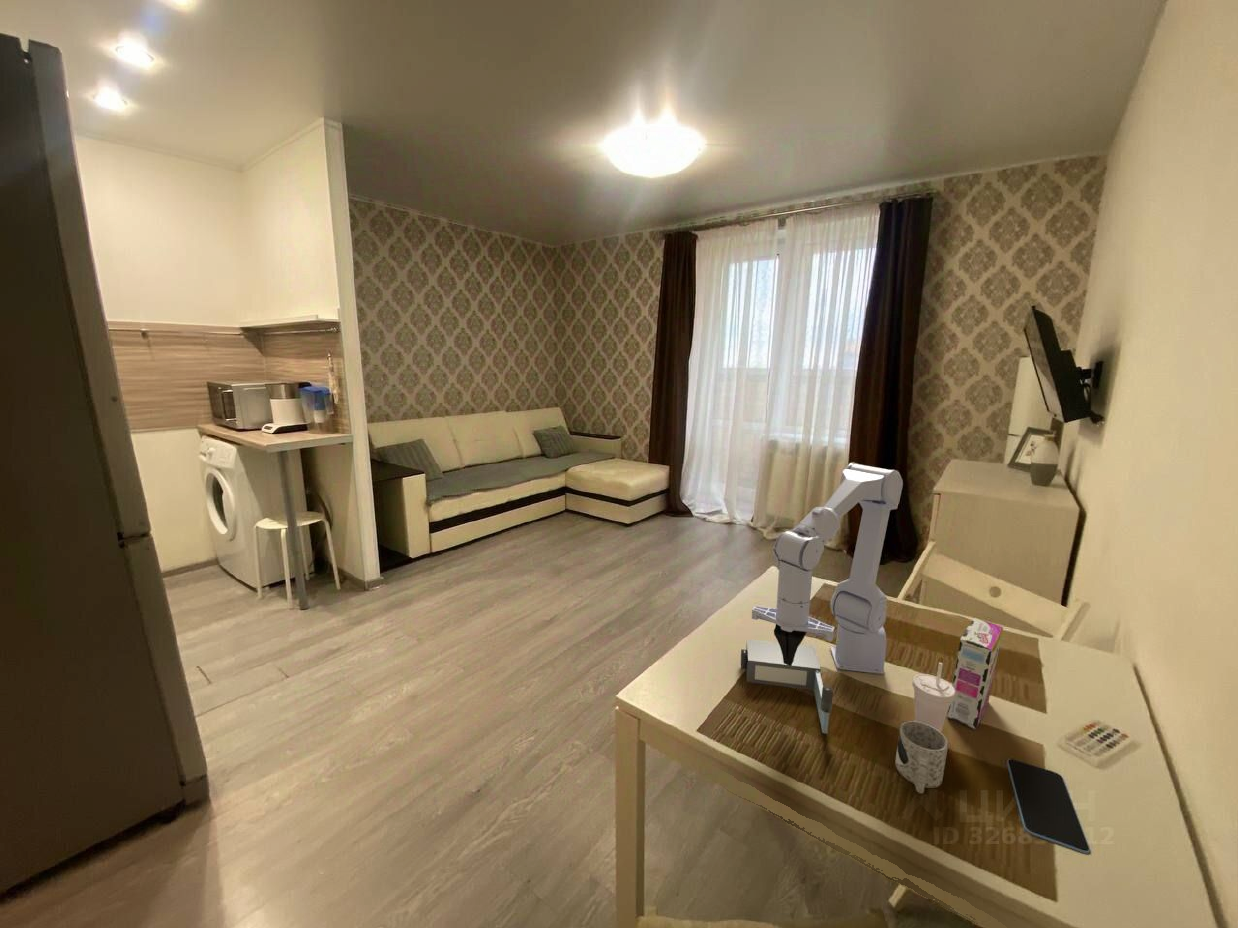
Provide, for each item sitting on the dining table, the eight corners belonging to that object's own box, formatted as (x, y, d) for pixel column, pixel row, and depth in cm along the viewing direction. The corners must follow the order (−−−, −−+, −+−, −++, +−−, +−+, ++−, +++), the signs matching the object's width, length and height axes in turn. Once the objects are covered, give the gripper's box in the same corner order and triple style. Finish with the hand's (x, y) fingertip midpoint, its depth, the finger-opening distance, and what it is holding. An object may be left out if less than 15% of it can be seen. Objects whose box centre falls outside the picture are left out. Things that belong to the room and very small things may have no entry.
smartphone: (1025, 830, 71) (1005, 755, 83) (1024, 834, 71) (1004, 760, 84) (1094, 854, 67) (1062, 772, 80) (1093, 859, 67) (1061, 777, 80)
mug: (895, 748, 86) (900, 715, 84) (941, 764, 82) (947, 729, 81) (893, 792, 77) (898, 755, 76) (944, 811, 74) (950, 774, 73)
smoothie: (954, 748, 86) (966, 676, 83) (913, 743, 87) (923, 672, 84) (939, 722, 92) (949, 654, 89) (901, 717, 93) (910, 650, 90)
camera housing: (812, 666, 108) (813, 646, 107) (818, 690, 100) (820, 668, 99) (740, 658, 111) (741, 638, 110) (741, 681, 103) (742, 659, 102)
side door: (810, 688, 101) (814, 651, 99) (820, 689, 100) (823, 653, 98) (819, 732, 89) (823, 692, 87) (830, 734, 88) (834, 693, 87)
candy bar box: (978, 731, 89) (992, 650, 86) (945, 717, 93) (958, 638, 89) (990, 701, 97) (1004, 625, 93) (960, 689, 100) (972, 615, 97)
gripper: (747, 594, 92) (744, 660, 95) (831, 616, 84) (824, 687, 87) (759, 580, 98) (756, 642, 101) (839, 599, 90) (832, 666, 93)
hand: (788, 661), depth 94 cm, fingers closed
